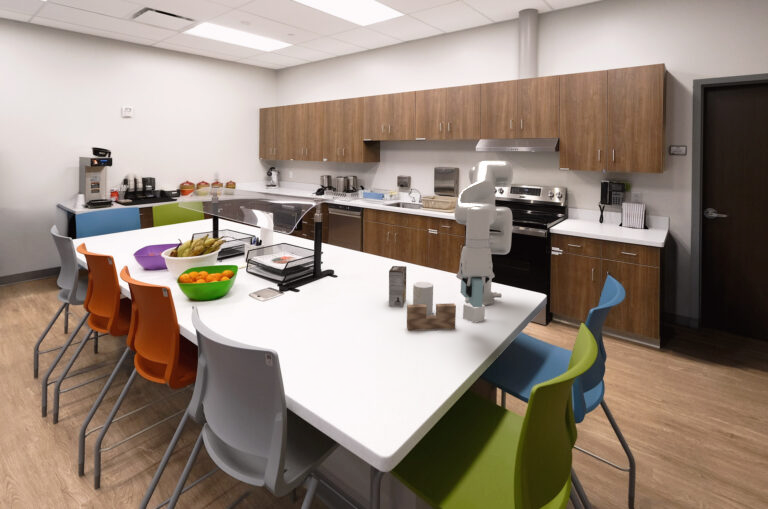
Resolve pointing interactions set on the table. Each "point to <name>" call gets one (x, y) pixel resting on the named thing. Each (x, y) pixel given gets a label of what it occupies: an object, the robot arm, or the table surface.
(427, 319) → the walnut slotted board
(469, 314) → the white cube
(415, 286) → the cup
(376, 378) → the table surface
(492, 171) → the robot arm
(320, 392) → the table surface
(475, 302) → the teal slotted board
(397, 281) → the coffee box
